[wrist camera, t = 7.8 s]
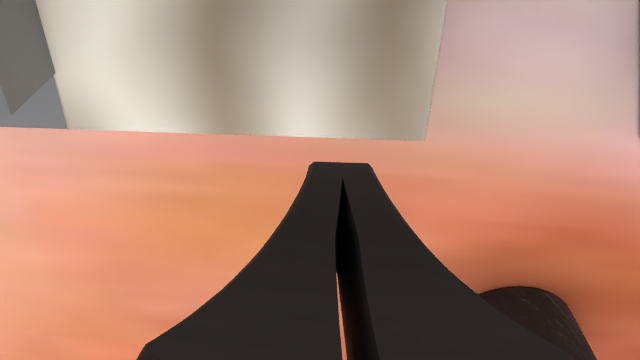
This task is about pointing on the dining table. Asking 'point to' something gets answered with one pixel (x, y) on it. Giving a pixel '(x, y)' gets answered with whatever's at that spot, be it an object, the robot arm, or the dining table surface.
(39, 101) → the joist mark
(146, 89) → the subfloor plank
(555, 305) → the travel mug
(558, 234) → the dining table surface
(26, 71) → the block
